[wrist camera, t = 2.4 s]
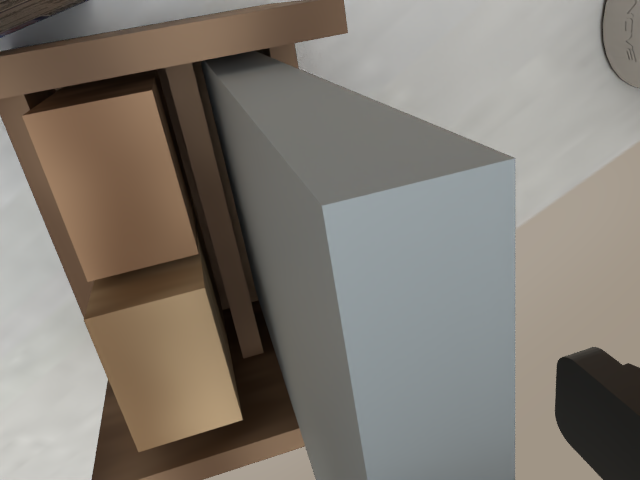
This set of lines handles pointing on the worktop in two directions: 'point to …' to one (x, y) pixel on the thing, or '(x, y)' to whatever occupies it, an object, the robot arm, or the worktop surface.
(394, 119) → the sheet
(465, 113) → the worktop surface
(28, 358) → the worktop surface
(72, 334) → the worktop surface
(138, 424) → the offcut
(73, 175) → the offcut
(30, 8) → the beverage box
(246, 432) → the rack
